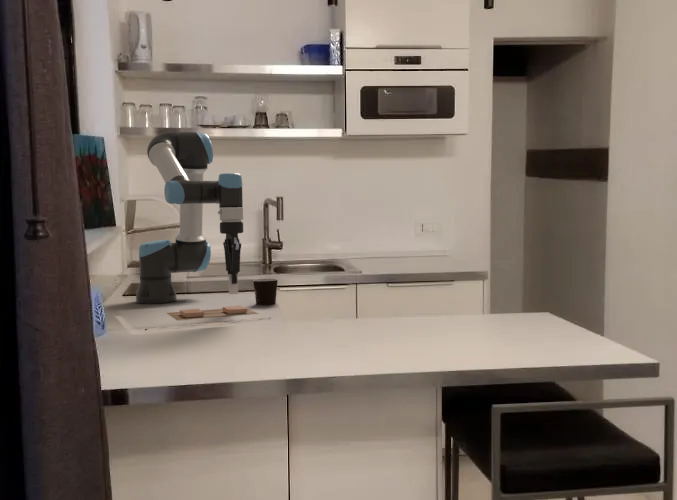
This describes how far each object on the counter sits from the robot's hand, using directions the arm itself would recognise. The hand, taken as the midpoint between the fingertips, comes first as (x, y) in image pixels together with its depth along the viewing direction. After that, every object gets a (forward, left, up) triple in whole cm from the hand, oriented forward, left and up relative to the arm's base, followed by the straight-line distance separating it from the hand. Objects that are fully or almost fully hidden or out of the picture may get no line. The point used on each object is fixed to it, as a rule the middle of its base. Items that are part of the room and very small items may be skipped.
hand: (233, 293), depth 232 cm
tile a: (-3, -14, -5) cm, 15 cm away
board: (-1, -7, -8) cm, 10 cm away
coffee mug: (-14, +16, -8) cm, 23 cm away
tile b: (-3, 0, -5) cm, 6 cm away
